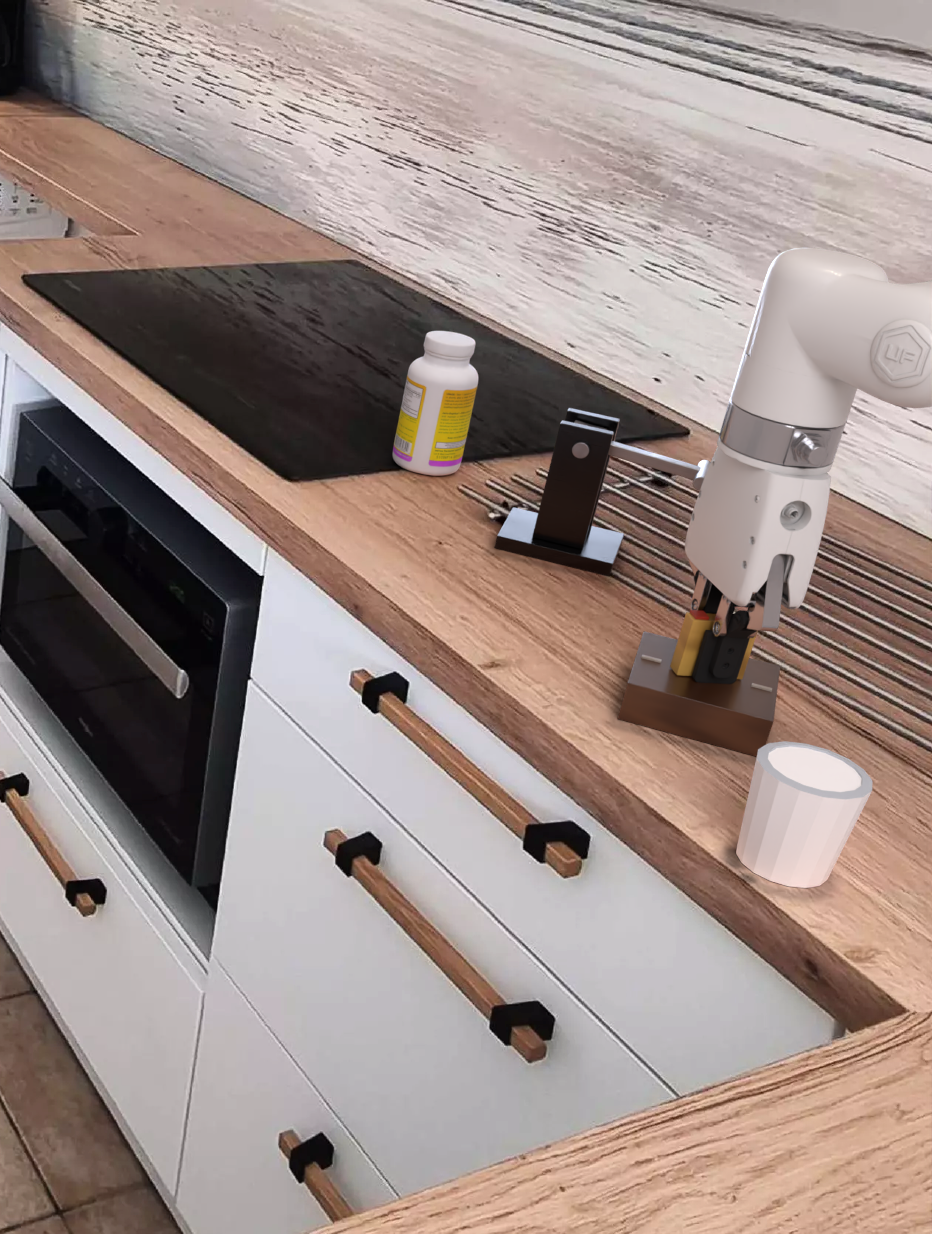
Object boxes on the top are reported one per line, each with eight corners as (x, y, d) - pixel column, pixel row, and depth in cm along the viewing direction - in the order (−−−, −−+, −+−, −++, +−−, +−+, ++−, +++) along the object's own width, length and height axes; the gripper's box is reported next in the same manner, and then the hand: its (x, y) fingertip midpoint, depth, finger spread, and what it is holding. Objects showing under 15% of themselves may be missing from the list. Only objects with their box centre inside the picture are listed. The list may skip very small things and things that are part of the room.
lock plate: (768, 700, 131) (781, 663, 129) (761, 758, 122) (774, 719, 121) (633, 665, 134) (644, 628, 132) (617, 719, 126) (628, 680, 124)
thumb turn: (734, 670, 128) (753, 613, 125) (742, 680, 126) (761, 621, 124) (669, 666, 127) (686, 608, 125) (676, 675, 126) (694, 617, 124)
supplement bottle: (467, 464, 171) (495, 338, 165) (448, 483, 166) (476, 353, 160) (402, 448, 174) (427, 322, 168) (381, 466, 168) (407, 337, 162)
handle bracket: (621, 545, 156) (655, 421, 151) (609, 576, 149) (644, 447, 144) (510, 519, 159) (539, 396, 154) (494, 548, 152) (524, 420, 147)
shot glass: (801, 831, 114) (833, 739, 111) (860, 893, 108) (897, 797, 105) (705, 832, 112) (736, 739, 109) (760, 894, 106) (794, 797, 103)
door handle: (707, 481, 149) (717, 455, 148) (702, 499, 145) (712, 472, 144) (569, 440, 153) (577, 415, 151) (560, 457, 148) (569, 431, 147)
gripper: (890, 482, 112) (805, 729, 120) (777, 400, 126) (708, 628, 134) (781, 475, 111) (703, 725, 119) (679, 394, 125) (615, 623, 133)
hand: (706, 672), depth 127 cm, fingers closed, pressing on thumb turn
